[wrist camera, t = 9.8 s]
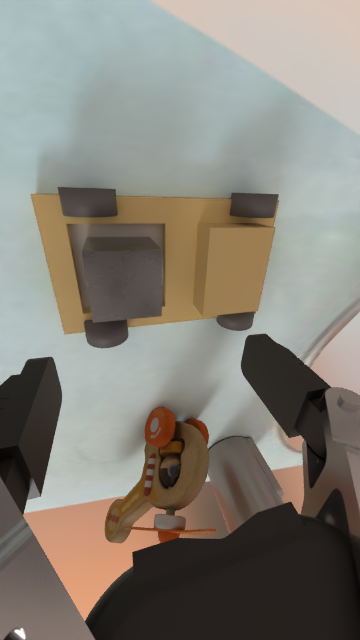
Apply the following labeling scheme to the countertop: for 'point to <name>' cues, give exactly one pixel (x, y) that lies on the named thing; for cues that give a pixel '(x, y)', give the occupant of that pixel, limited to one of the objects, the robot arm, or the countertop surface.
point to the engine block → (123, 277)
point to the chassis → (177, 254)
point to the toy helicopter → (164, 478)
